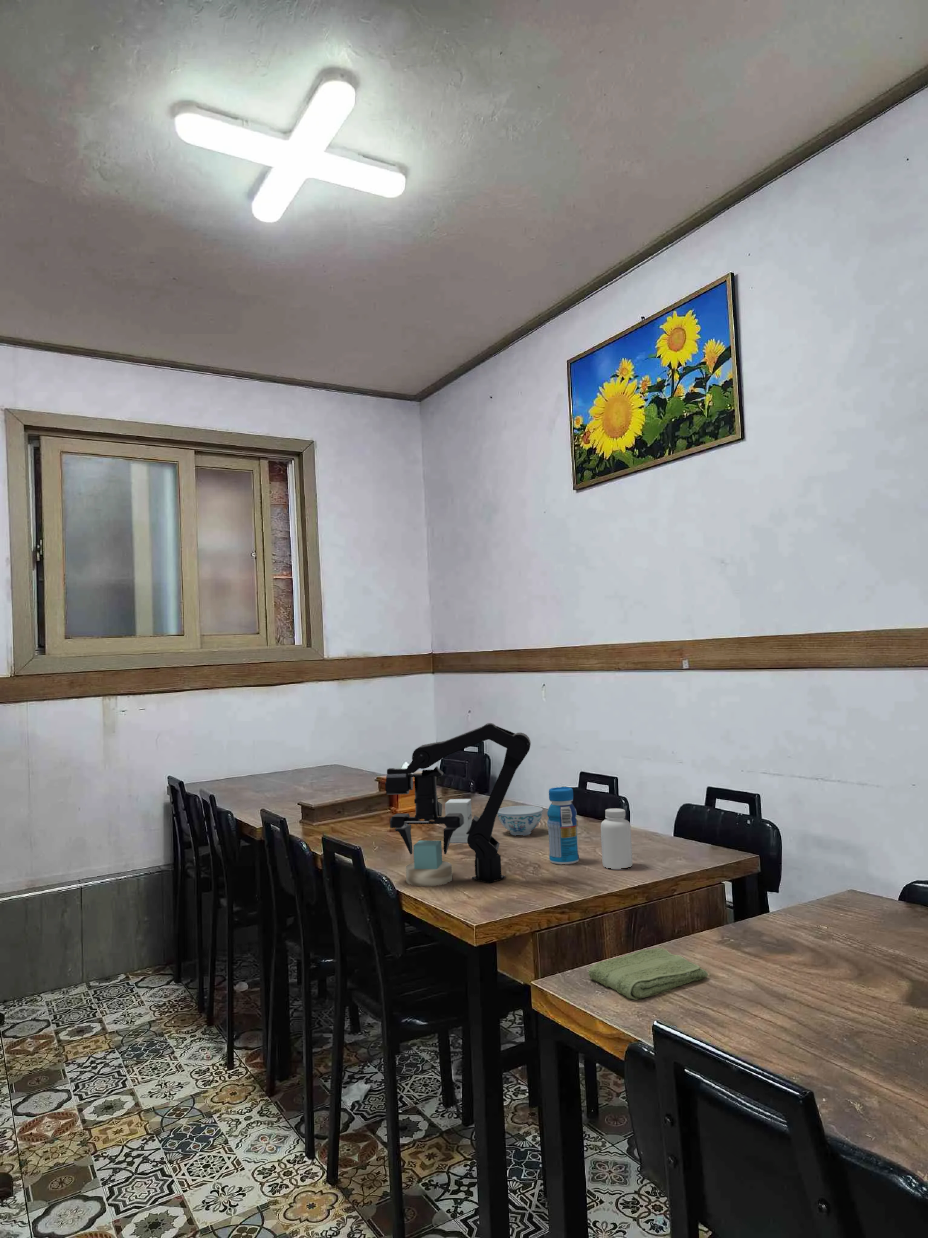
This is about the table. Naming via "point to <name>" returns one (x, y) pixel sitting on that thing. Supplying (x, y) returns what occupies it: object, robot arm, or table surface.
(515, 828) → the chinaware
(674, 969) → the washcloth
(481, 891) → the table surface
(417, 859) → the teal block
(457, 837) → the supplement box
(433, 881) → the birch riser
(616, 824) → the pill bottle
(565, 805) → the beverage bottle
